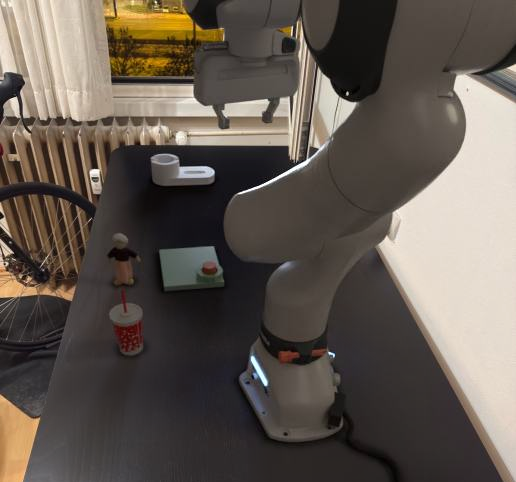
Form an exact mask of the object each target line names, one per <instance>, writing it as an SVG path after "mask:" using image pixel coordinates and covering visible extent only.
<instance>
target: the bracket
mask: <svg viewBox="0 0 516 482" xmlns="http://www.w3.org/2000/svg"><path fill="white" fill-rule="evenodd" d="M150 166H151V167H150V168H151V177H152V178H151V179H152V182H153V183H154V184H155V185H159V186H163V187H164V186H165V187H170V186H203V185H211V184H212V183H214V182H215V178H216V177H215V175H216V174H215V170H214V169H213V168H212V167H209V166H207V165H206V166H205V165H201V166H197V165H196V166H195V165H194V166H180V160H179V157H178V156H177V155H175V154H171V153H158V154H154V155H153V156H151V157H150Z"/></svg>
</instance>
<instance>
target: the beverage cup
mask: <svg viewBox="0 0 516 482" xmlns="http://www.w3.org/2000/svg"><path fill="white" fill-rule="evenodd" d="M120 292H121V297H122V298H121V300H122V303H120V304H117V305H115V306H113V307H112V308H111V309H110V311H109V313H108V316H109V319H110V322H112V325H113V329H114V333H115V336H116V340H117V344H118V348H119V351H120V353H121V354H122V355H125V356H136V355H138V354H140V353H141V352H142V351H143V349H144V336H143V313H144V312H143V309H142V307H141V306H139V304H135V303H131V302H130V303H129V302H126V296H125V290H121V291H120Z"/></svg>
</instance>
